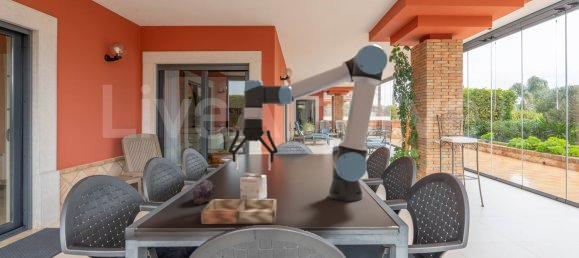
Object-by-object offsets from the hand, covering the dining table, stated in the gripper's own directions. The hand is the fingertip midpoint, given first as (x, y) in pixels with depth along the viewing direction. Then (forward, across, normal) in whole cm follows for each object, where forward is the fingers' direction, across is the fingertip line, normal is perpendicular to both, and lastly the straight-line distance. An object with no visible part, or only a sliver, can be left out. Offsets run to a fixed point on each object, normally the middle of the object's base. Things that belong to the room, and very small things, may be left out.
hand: (253, 169), depth 134 cm
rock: (+15, +22, -5) cm, 27 cm away
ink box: (+14, 0, 0) cm, 15 cm away
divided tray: (+14, +2, +16) cm, 22 cm away
